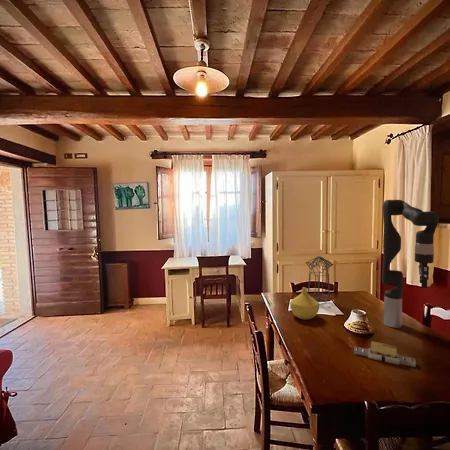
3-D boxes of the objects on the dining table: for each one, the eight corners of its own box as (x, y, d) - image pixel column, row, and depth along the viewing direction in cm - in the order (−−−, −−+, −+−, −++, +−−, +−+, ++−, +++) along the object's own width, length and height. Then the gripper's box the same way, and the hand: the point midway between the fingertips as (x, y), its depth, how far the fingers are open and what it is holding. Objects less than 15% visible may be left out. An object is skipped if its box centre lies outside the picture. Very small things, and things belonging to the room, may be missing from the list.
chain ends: (354, 349, 142) (354, 344, 141) (414, 362, 129) (414, 356, 129) (353, 354, 137) (353, 349, 137) (415, 368, 125) (416, 362, 124)
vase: (315, 312, 194) (315, 284, 193) (322, 322, 175) (322, 292, 174) (288, 311, 195) (288, 284, 194) (292, 321, 177) (292, 291, 176)
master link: (371, 354, 137) (371, 341, 137) (396, 359, 132) (396, 346, 132) (370, 357, 134) (371, 343, 134) (396, 362, 129) (396, 348, 129)
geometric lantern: (303, 300, 218) (304, 255, 216) (321, 298, 223) (321, 254, 221) (316, 307, 203) (316, 258, 201) (334, 304, 208) (335, 257, 206)
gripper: (413, 250, 146) (412, 281, 147) (416, 254, 133) (415, 288, 134) (431, 250, 142) (430, 282, 143) (436, 255, 129) (434, 290, 131)
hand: (423, 285), depth 139 cm, fingers open, 8 cm apart
